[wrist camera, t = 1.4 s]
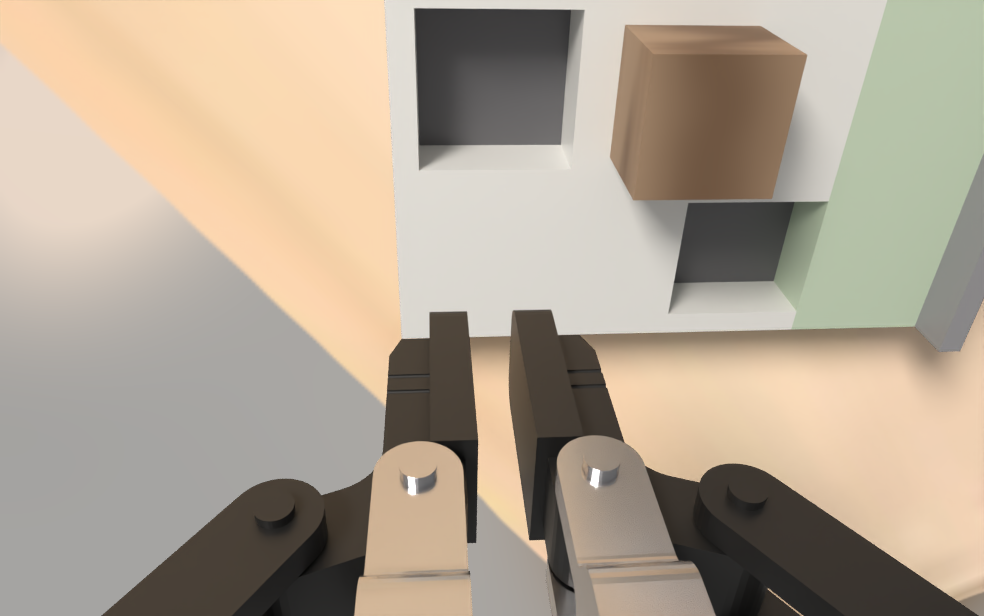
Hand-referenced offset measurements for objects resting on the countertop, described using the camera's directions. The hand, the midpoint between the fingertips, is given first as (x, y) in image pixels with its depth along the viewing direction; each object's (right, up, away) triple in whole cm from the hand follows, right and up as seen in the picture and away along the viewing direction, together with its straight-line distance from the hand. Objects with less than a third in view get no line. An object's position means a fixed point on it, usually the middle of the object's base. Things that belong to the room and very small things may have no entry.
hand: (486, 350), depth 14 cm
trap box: (+9, +8, +18) cm, 22 cm away
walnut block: (+7, +9, +14) cm, 18 cm away
